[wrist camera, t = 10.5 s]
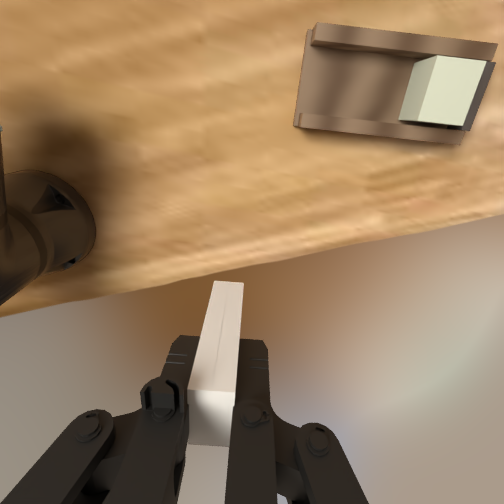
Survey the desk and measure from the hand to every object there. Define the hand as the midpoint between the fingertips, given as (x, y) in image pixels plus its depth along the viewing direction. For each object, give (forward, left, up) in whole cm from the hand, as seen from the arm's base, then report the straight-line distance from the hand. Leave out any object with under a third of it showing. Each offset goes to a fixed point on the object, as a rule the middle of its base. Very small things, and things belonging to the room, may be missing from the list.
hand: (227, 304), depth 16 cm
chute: (+15, +13, -29) cm, 35 cm away
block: (+20, +13, -28) cm, 37 cm away
